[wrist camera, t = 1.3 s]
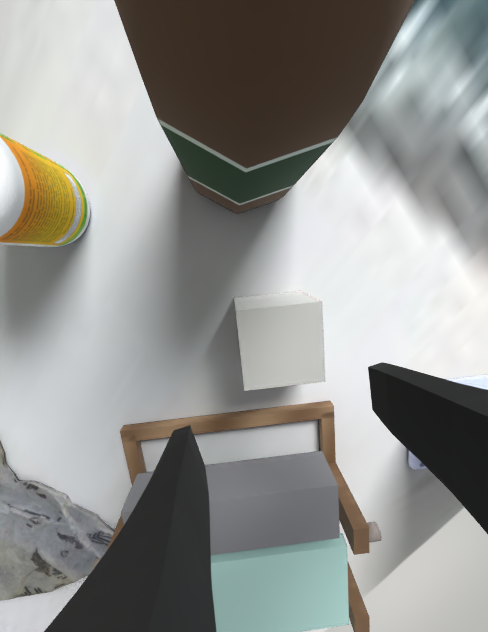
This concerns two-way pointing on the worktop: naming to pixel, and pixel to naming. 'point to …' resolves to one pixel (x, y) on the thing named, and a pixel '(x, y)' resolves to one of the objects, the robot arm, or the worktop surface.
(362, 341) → the worktop surface
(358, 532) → the walnut frame
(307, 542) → the trapdoor plate
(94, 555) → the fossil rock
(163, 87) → the beer bottle
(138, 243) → the worktop surface
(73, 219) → the supplement bottle
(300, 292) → the stone block
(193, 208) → the worktop surface
